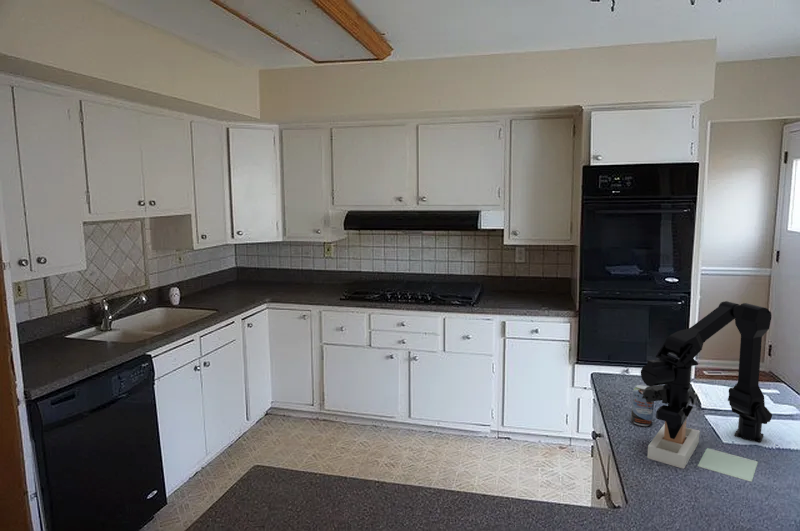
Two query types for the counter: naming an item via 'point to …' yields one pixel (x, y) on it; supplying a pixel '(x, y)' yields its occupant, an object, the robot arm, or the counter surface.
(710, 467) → the mat
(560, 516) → the counter surface
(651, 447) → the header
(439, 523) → the counter surface
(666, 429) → the tan rectangular block
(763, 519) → the counter surface
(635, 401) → the beverage can
